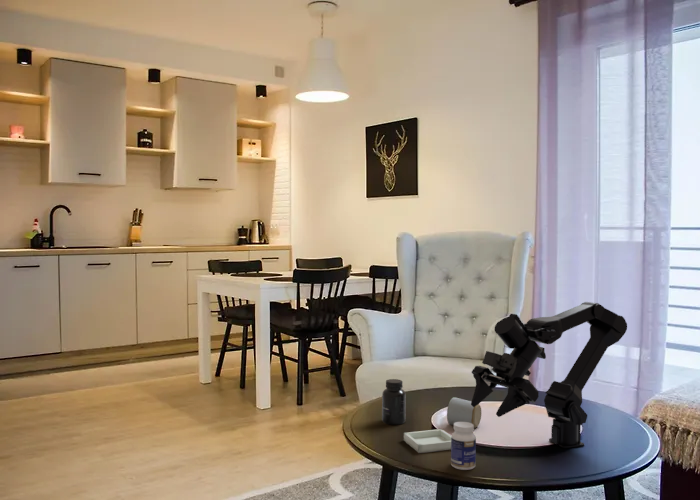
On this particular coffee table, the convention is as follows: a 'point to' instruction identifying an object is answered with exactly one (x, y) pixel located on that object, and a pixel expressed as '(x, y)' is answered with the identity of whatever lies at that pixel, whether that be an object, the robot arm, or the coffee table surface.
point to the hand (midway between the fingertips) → (484, 410)
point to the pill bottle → (463, 446)
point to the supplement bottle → (393, 403)
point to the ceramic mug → (463, 412)
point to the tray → (428, 440)
